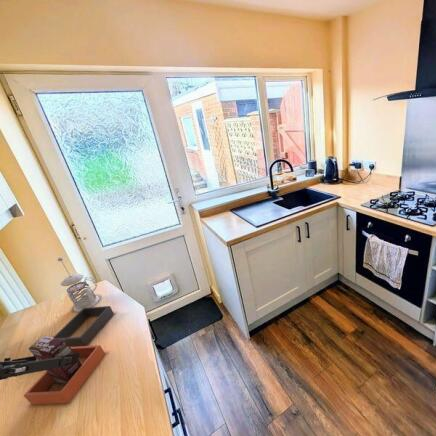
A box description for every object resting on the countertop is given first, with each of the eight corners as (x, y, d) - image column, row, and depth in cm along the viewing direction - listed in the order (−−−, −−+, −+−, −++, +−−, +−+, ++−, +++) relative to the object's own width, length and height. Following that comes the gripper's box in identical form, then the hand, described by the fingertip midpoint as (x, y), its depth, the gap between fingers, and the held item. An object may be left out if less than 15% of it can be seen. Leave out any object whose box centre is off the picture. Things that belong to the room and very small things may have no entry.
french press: (76, 301, 114) (48, 256, 104) (105, 291, 118) (81, 247, 108) (70, 315, 106) (39, 267, 95) (101, 304, 110) (76, 257, 100)
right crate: (56, 348, 90) (49, 340, 88) (88, 315, 104) (83, 307, 103) (86, 346, 90) (80, 338, 88) (114, 313, 104) (109, 305, 102)
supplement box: (54, 382, 78) (26, 348, 72) (69, 367, 82) (44, 334, 76) (74, 387, 76) (47, 352, 69) (88, 372, 80) (65, 338, 74)
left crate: (31, 404, 72) (23, 395, 71) (74, 355, 87) (68, 347, 85) (68, 402, 72) (61, 393, 70) (105, 353, 86) (100, 345, 84)
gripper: (-94, 400, 55) (14, 375, 74) (11, 394, 53) (92, 370, 73) (-79, 362, 57) (21, 348, 77) (22, 355, 56) (97, 342, 76)
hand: (56, 359), depth 75 cm, fingers open, 13 cm apart
